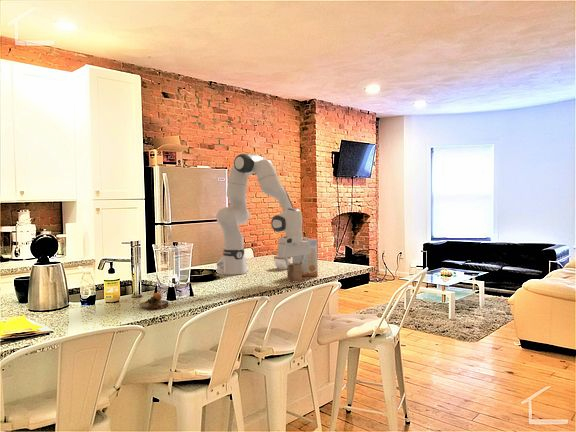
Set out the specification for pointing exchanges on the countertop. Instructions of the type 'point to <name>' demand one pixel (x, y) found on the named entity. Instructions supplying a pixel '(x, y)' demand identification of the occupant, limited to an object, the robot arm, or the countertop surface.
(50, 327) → the countertop surface
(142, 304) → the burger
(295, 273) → the walnut block
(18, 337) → the countertop surface
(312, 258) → the cracker box
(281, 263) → the lidded jar
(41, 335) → the countertop surface
